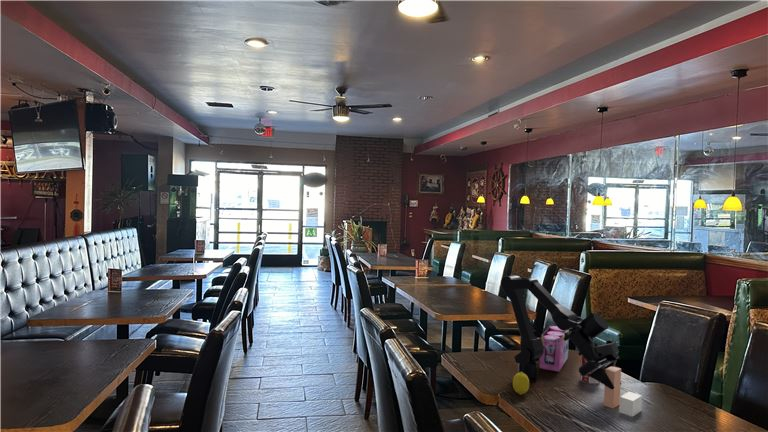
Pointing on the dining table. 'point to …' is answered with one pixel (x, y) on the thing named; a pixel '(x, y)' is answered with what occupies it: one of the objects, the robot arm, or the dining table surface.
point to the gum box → (554, 348)
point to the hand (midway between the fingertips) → (616, 386)
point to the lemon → (521, 383)
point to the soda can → (586, 378)
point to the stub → (614, 394)
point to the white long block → (630, 403)
